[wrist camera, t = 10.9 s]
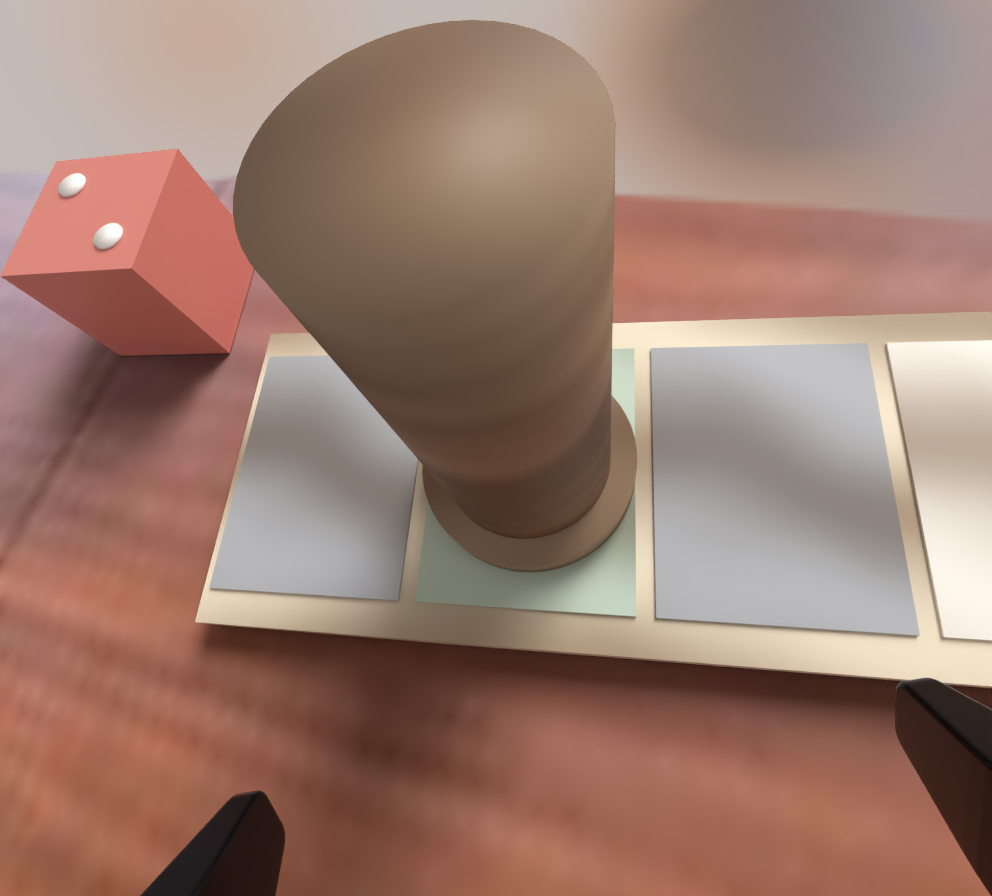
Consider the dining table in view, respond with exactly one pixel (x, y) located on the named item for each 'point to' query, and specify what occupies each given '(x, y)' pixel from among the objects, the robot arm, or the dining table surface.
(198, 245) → the die
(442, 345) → the pawn
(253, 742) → the dining table surface
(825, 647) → the board
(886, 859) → the dining table surface
